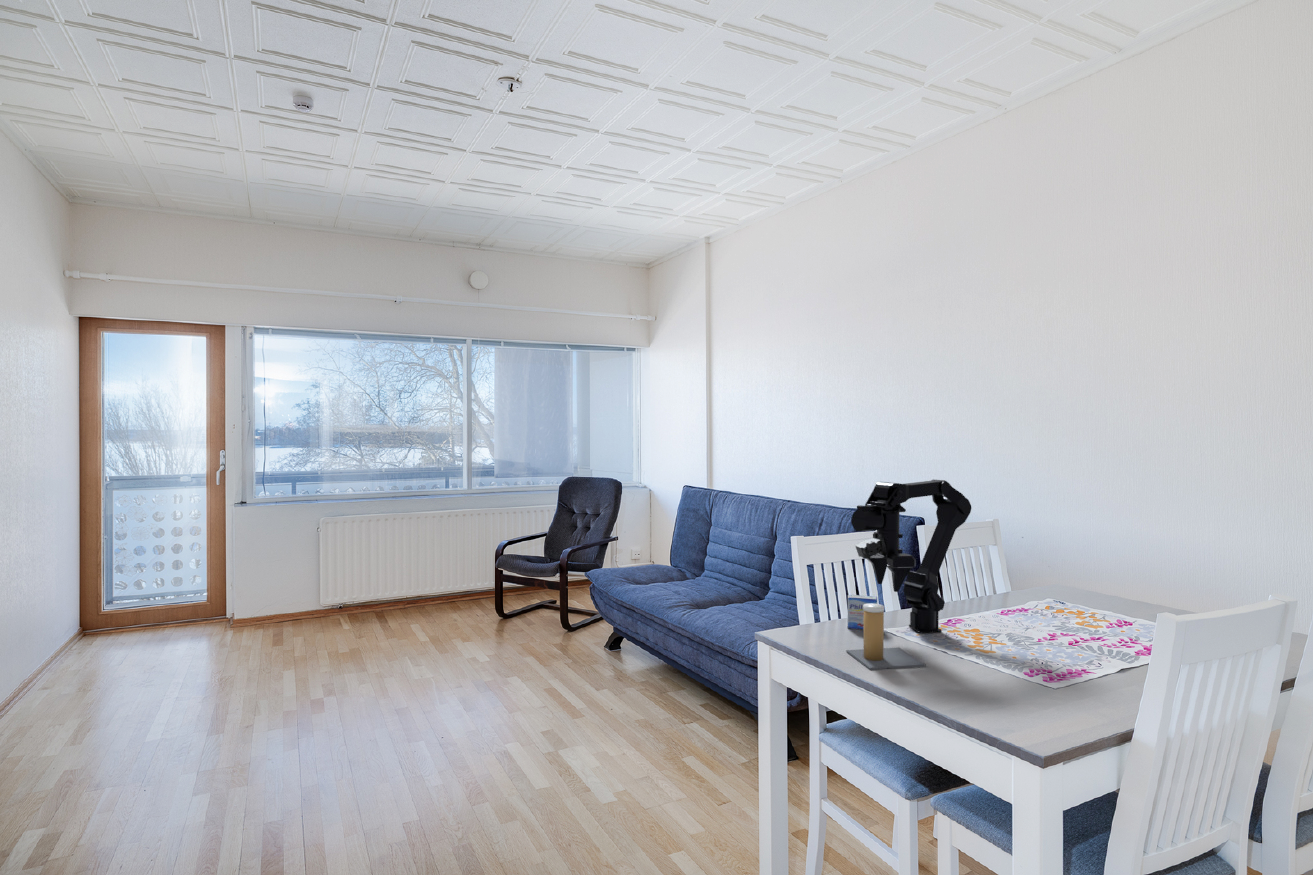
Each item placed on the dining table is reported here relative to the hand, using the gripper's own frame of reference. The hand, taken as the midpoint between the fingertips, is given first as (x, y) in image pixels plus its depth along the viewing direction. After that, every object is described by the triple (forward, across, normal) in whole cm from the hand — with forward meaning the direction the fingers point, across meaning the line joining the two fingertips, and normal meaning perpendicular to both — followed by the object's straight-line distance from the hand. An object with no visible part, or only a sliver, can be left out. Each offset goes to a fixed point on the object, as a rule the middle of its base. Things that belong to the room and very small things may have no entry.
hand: (887, 587), depth 193 cm
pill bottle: (+12, +18, -12) cm, 25 cm away
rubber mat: (+13, +18, -10) cm, 24 cm away
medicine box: (+13, -9, -3) cm, 16 cm away
